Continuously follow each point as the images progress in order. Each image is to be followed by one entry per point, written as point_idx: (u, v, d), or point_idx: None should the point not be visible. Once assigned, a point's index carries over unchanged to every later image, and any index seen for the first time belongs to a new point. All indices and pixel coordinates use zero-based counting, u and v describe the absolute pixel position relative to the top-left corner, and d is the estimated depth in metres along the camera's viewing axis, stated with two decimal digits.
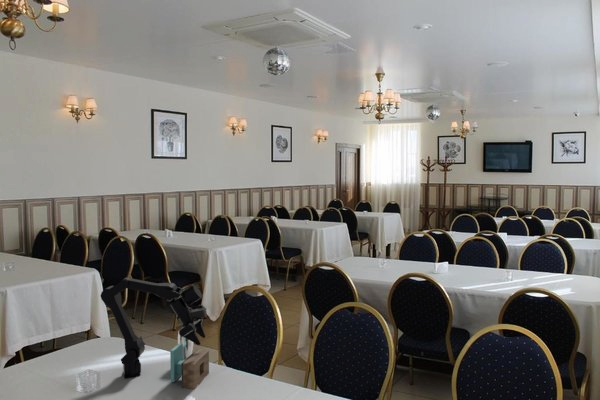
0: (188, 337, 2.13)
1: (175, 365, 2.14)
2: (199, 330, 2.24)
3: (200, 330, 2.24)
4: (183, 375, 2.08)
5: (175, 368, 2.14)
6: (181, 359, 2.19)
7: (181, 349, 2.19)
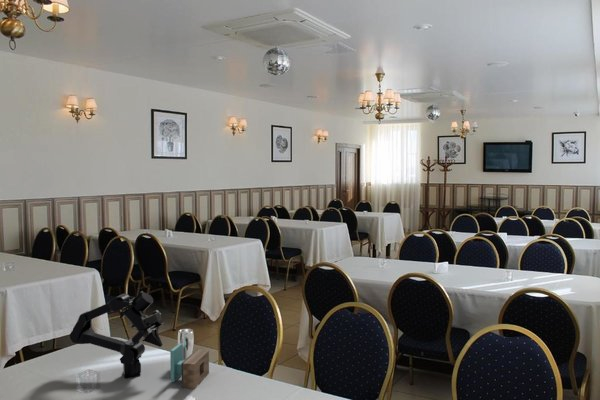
0: (148, 340, 2.16)
1: (175, 365, 2.14)
2: None
3: None
4: (183, 375, 2.08)
5: (175, 368, 2.14)
6: (181, 359, 2.19)
7: (181, 349, 2.19)
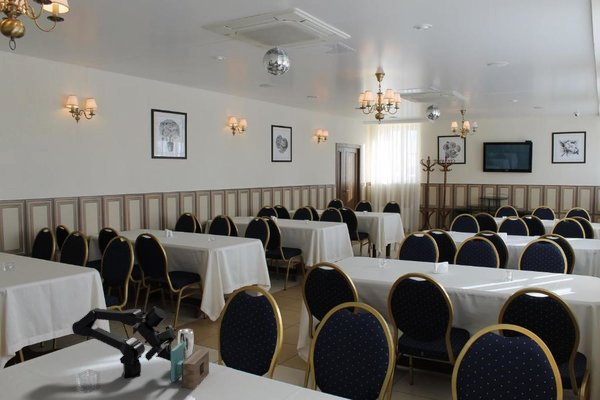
0: (161, 356, 2.16)
1: (175, 365, 2.14)
2: None
3: None
4: (183, 375, 2.08)
5: (175, 368, 2.14)
6: (181, 359, 2.19)
7: (181, 349, 2.19)
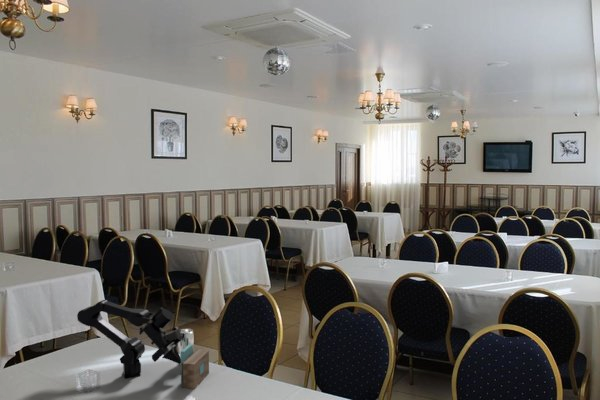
0: (168, 357, 2.15)
1: None
2: None
3: None
4: (183, 375, 2.08)
5: None
6: None
7: (191, 350, 2.18)
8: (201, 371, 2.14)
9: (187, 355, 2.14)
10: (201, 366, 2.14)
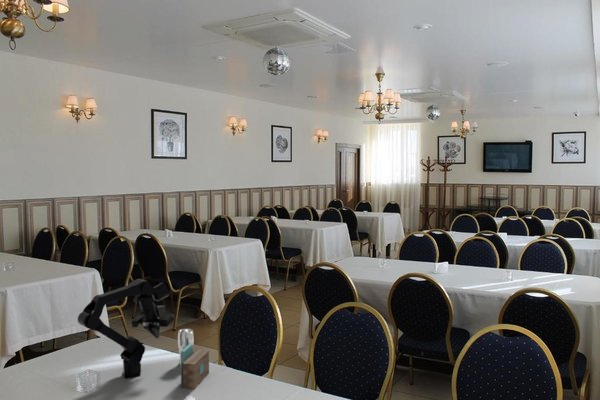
0: (156, 329, 2.26)
1: None
2: None
3: None
4: (183, 375, 2.08)
5: None
6: None
7: (191, 350, 2.18)
8: (201, 371, 2.14)
9: (187, 355, 2.14)
10: (201, 366, 2.14)
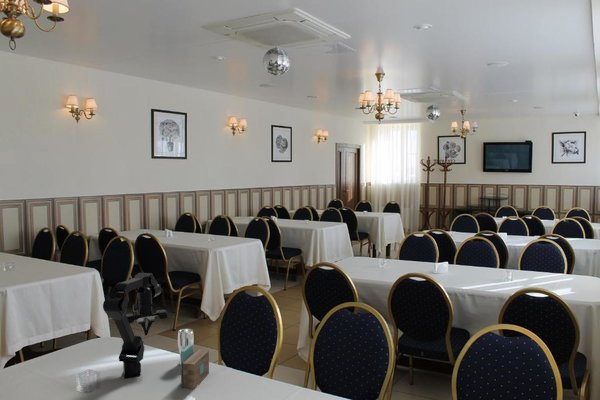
0: None
1: None
2: None
3: None
4: (183, 375, 2.08)
5: None
6: None
7: (191, 350, 2.18)
8: (201, 371, 2.14)
9: (187, 355, 2.14)
10: (201, 366, 2.14)
